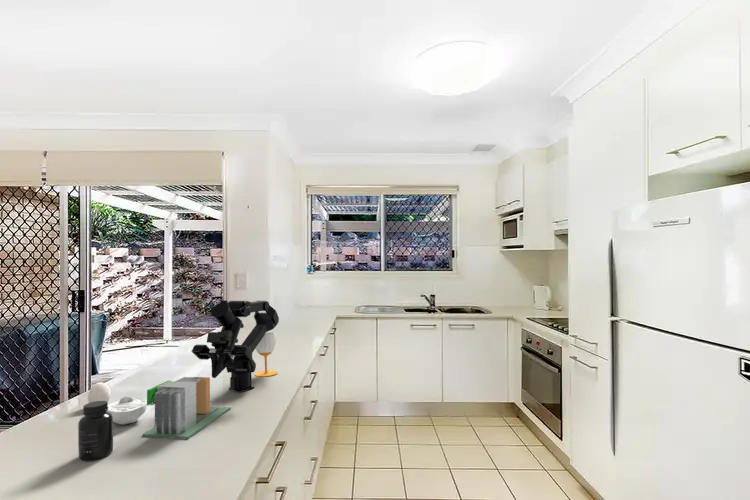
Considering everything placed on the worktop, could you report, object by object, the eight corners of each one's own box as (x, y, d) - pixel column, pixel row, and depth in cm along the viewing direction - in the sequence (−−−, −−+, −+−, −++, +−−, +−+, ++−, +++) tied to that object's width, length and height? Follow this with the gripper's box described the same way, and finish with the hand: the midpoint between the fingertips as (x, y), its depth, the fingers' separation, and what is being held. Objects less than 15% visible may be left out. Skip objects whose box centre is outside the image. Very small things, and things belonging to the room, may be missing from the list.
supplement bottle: (89, 449, 102) (89, 399, 103) (118, 448, 103) (119, 398, 103) (71, 462, 96) (71, 409, 96) (102, 461, 96) (103, 408, 96)
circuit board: (191, 407, 131) (191, 405, 131) (230, 409, 129) (230, 407, 129) (142, 436, 110) (142, 434, 110) (188, 439, 108) (188, 436, 108)
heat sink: (195, 410, 129) (195, 369, 129) (219, 411, 128) (219, 370, 128) (152, 436, 110) (152, 388, 110) (180, 437, 109) (180, 389, 109)
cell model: (103, 433, 112) (103, 407, 113) (107, 418, 123) (107, 395, 123) (146, 426, 117) (146, 401, 117) (147, 412, 128) (147, 389, 128)
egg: (82, 409, 131) (83, 384, 132) (101, 402, 137) (101, 379, 137) (96, 411, 129) (97, 386, 130) (115, 404, 135) (115, 380, 135)
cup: (274, 376, 166) (273, 335, 166) (251, 377, 166) (250, 336, 166) (280, 370, 175) (278, 331, 176) (258, 371, 175) (256, 332, 176)
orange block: (194, 410, 126) (194, 376, 126) (209, 411, 125) (209, 377, 125) (190, 413, 124) (190, 378, 124) (206, 413, 123) (206, 379, 123)
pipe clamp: (157, 404, 135) (157, 390, 135) (146, 404, 136) (146, 390, 136) (178, 393, 146) (178, 380, 146) (167, 393, 147) (167, 380, 147)
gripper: (193, 320, 138) (173, 365, 128) (246, 321, 135) (230, 367, 125) (208, 337, 147) (191, 380, 137) (258, 338, 143) (244, 382, 133)
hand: (213, 377), depth 133 cm, fingers closed
